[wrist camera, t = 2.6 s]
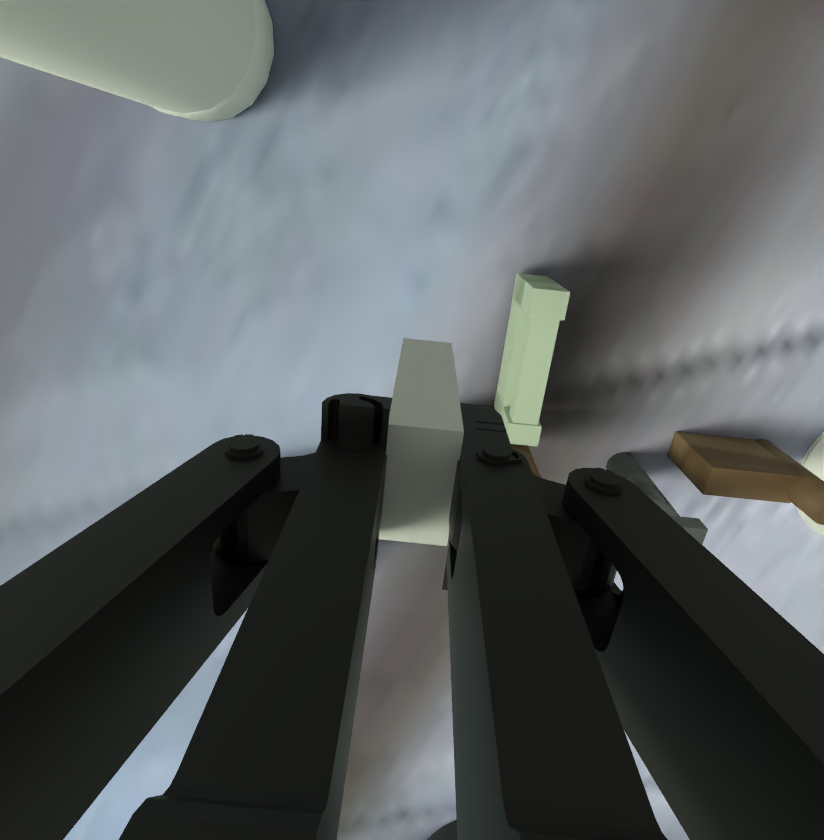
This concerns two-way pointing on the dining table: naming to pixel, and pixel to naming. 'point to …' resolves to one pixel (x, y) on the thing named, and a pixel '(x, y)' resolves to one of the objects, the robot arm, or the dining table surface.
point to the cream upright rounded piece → (820, 462)
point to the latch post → (653, 492)
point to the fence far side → (747, 471)
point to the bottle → (149, 49)
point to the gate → (529, 355)
